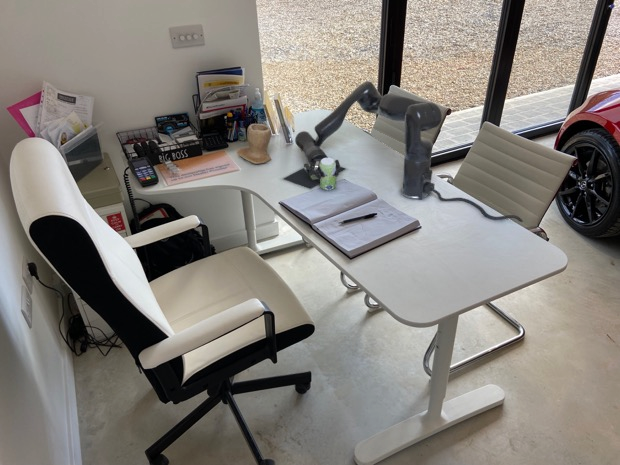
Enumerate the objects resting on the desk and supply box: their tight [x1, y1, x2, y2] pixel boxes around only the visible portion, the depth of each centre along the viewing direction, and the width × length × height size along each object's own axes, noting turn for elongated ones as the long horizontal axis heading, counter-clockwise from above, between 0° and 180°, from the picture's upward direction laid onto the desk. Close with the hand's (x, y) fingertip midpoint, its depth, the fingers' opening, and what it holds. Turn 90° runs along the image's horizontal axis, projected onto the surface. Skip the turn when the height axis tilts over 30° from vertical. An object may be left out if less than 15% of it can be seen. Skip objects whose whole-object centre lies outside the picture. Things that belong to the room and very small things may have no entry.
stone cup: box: [236, 123, 272, 165], centre depth 209 cm, size 15×12×15 cm
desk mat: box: [283, 166, 346, 190], centre depth 198 cm, size 14×22×1 cm, turn 140°
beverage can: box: [319, 157, 337, 191], centre depth 183 cm, size 6×7×12 cm
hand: (328, 175), depth 181 cm, fingers closed on beverage can, 5 cm apart
